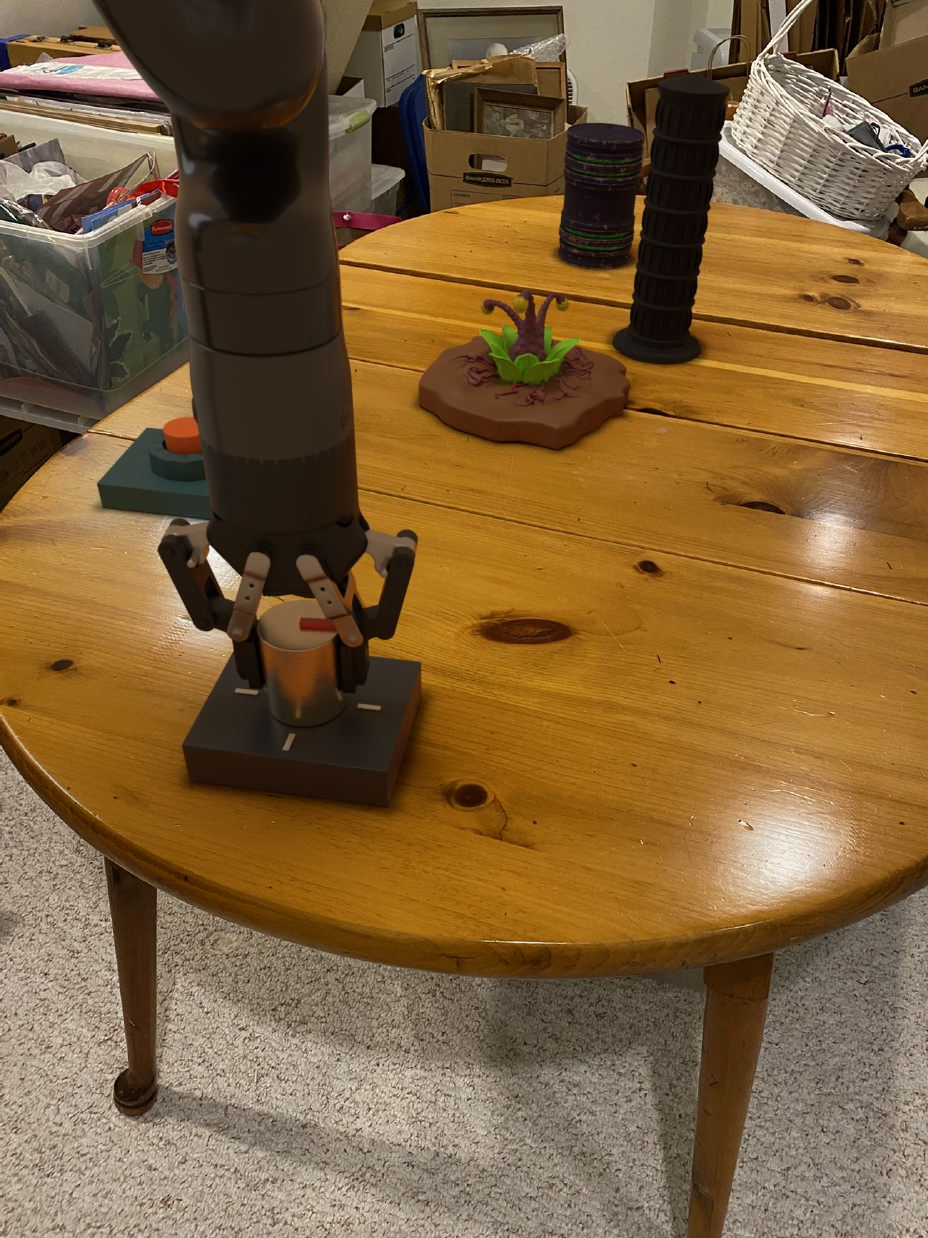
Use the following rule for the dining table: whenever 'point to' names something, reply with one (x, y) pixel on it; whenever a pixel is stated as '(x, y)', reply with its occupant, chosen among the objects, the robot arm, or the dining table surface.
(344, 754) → the panel
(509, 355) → the plant
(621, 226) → the storage jar
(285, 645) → the knob
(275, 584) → the robot arm
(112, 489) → the button block
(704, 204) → the handle grip
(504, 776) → the dining table surface
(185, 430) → the button
